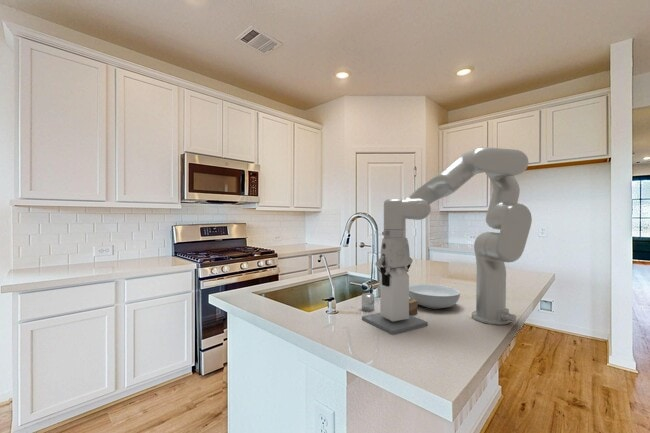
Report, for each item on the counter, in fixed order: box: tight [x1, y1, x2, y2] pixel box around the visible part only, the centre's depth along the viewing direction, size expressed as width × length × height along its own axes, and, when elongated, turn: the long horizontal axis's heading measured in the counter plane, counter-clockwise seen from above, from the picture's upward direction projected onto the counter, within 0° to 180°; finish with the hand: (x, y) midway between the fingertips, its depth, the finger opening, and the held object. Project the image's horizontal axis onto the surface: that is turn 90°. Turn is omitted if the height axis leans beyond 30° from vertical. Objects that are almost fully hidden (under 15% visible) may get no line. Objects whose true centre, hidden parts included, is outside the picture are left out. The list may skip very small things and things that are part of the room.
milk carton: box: [379, 267, 410, 321], centre depth 111 cm, size 7×7×19 cm
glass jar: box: [361, 292, 375, 313], centre depth 125 cm, size 5×5×6 cm
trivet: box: [361, 312, 429, 336], centre depth 111 cm, size 16×16×1 cm
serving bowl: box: [409, 283, 461, 310], centre depth 131 cm, size 21×21×7 cm
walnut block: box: [409, 298, 419, 316], centre depth 121 cm, size 5×5×5 cm
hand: (394, 283), depth 110 cm, fingers closed on milk carton, 7 cm apart
